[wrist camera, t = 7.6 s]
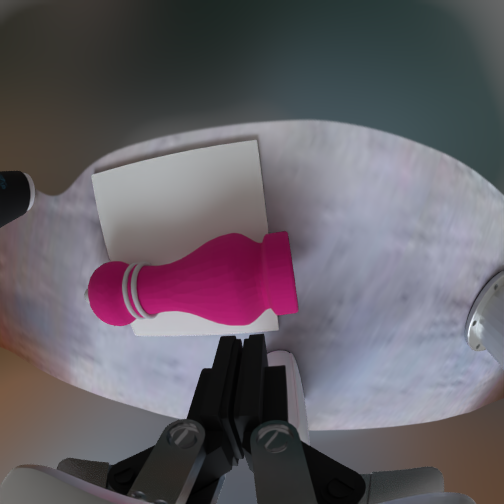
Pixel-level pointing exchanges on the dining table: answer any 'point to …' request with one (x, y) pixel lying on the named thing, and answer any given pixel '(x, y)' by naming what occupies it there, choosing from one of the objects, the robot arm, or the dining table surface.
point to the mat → (183, 218)
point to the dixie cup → (15, 195)
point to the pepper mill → (201, 283)
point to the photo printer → (293, 392)
